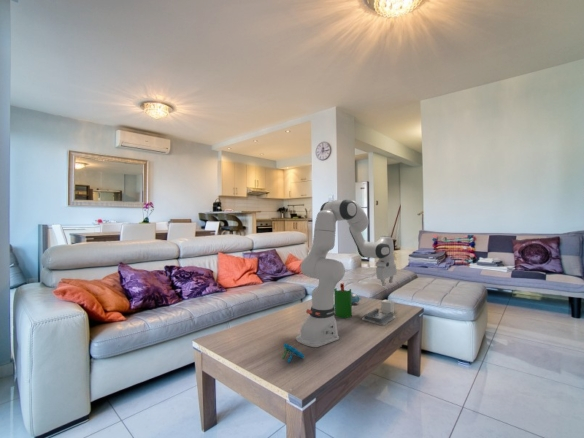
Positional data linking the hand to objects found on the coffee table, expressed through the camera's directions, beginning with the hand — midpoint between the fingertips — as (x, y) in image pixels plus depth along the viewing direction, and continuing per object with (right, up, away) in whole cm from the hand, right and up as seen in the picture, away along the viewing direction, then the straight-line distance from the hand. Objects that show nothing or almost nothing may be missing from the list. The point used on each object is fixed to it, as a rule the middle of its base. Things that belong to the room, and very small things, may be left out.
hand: (387, 284), depth 171 cm
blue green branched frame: (-59, -19, -55) cm, 83 cm away
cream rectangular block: (0, -18, 0) cm, 18 cm away
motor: (-28, -18, -3) cm, 34 cm away
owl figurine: (-19, -19, +22) cm, 35 cm away
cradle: (-9, -18, -11) cm, 23 cm away
